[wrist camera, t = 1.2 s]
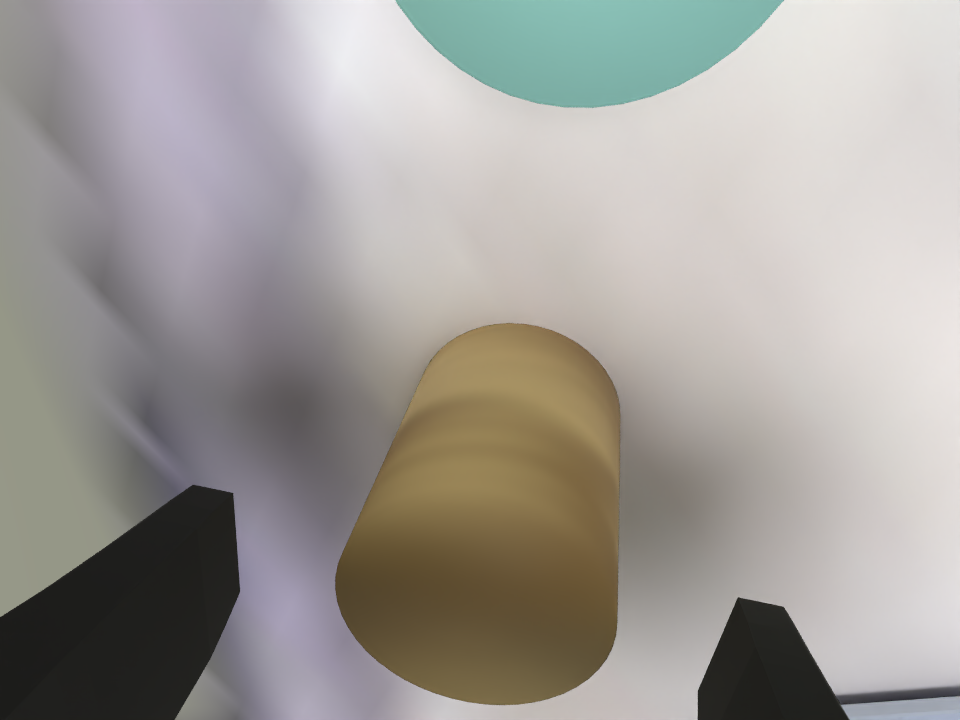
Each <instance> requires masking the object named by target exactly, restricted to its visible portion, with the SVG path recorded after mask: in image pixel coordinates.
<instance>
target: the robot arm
mask: <svg viewBox="0 0 960 720" xmlns="http://www.w3.org/2000/svg"><path fill="white" fill-rule="evenodd" d="M239 593H240V584H239V570H238V555H237V541H236V527H235V513H234V499H233V493H230V492H225V491H221V490H216V489H211V488H206V487H201V486H196V485H192V486H191V487H189V488H188V489H186V490H185V491H183V492H182V493H180V494H179V495H177V496H176V497H175V498H173V499H172V500H170V501H169V502H168V503H166V504H165V505H163V506H162V507H161V508H159V509H158V510H156V511H155V512H154V513H152V514H151V515H149V516H148V517H147V518H145V519H144V520H143V521H141V522H140V523H138V524H137V525H136V526H134V527H133V528H131V529H130V530H129V531H127V532H126V533H125V534H123V535H122V536H120V537H119V538H118V539H116V540H115V541H113V542H112V543H111V544H109V545H108V546H106V547H105V548H104V549H102V550H101V551H99V552H98V553H96V554H95V555H93V556H92V557H90V558H89V559H88V560H86V561H85V562H83V563H82V564H80V565H79V566H77V567H76V568H75V569H73V570H72V571H70V572H69V573H67V574H66V575H64V576H63V577H61V578H60V579H59V580H57V581H56V582H54V583H53V584H51V585H50V586H49V587H47V588H45V589H44V590H42V591H41V592H39V593H38V594H36V595H35V596H33V597H31V598H30V599H28V600H27V601H25V602H24V603H22V604H20V605H19V606H17V607H16V608H14V609H12V610H11V611H9V612H8V613H6V614H5V615H3V616H2V617H0V720H175V718H176V716H177V715H178V713H179V711H180V710H181V708H182V706H183V705H184V703H185V701H186V699H187V698H188V696H189V694H190V693H191V691H192V689H193V688H194V686H195V684H196V682H197V681H198V679H199V677H200V676H201V674H202V672H203V670H204V669H205V667H206V665H207V663H208V662H209V660H210V658H211V656H212V654H213V652H214V650H215V647H216V645H217V643H218V641H219V639H220V637H221V634H222V632H223V630H224V628H225V626H226V623H227V621H228V619H229V616H230V614H231V612H232V609H233V607H234V605H235V602H236V600H237V598H238V595H239ZM698 720H960V696H954V697H940V698H927V699H913V700H900V701H886V702H873V703H859V704H846V705H840V703H839V701H838V699H837V698H836V696H835V694H834V693H833V691H832V689H831V687H830V686H829V684H828V682H827V681H826V679H825V677H824V676H823V674H822V672H821V670H820V669H819V667H818V665H817V663H816V662H815V660H814V658H813V656H812V655H811V653H810V651H809V649H808V648H807V646H806V644H805V642H804V641H803V639H802V637H801V635H800V634H799V632H798V630H797V628H796V627H795V625H794V623H793V621H792V620H791V618H790V616H789V614H788V613H787V611H786V610H785V608H784V607H782V606H777V605H772V604H767V603H762V602H758V601H753V600H748V599H743V598H738V599H737V601H736V603H735V606H734V608H733V610H732V613H731V615H730V617H729V620H728V622H727V624H726V627H725V629H724V631H723V634H722V636H721V638H720V641H719V643H718V645H717V648H716V650H715V652H714V655H713V657H712V659H711V662H710V664H709V666H708V669H707V671H706V673H705V676H704V678H703V680H702V683H701V685H700V687H699V690H698Z"/></svg>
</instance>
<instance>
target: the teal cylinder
mask: <svg viewBox="0 0 960 720" xmlns="http://www.w3.org/2000/svg"><path fill="white" fill-rule="evenodd" d="M783 1H784V0H396V2H397V4H398V5H399V7H400V8H401V9H402V11H403V12H404V13H405V15H406V16H407V17H408V19H409V20H410V21H411V23H412V24H413V25H414V27H415V28H416V29H417V30H418V31H419V32H420V33H421V34H422V35H423V36H424V38H425V39H426V40H427V41H428V42H429V43H430V44H431V45H432V46H433V47H434V48H435V49H436V50H437V51H438V52H439V53H441V54H442V55H443V56H444V57H446V58H447V59H448V60H449V61H451V62H452V63H453V64H454V65H456V66H457V67H458V68H459V69H461V70H462V71H464V72H466V73H467V74H469V75H470V76H472V77H474V78H475V79H477V80H479V81H480V82H482V83H484V84H485V85H488V86H490V87H492V88H495V89H497V90H499V91H501V92H504V93H506V94H508V95H510V96H514V97H517V98H521V99H524V100H528V101H531V102H535V103H539V104H546V105H553V106H560V107H587V108H594V107H602V106H610V105H618V104H624V103H628V102H632V101H636V100H640V99H643V98H647V97H651V96H654V95H656V94H659V93H661V92H664V91H666V90H669V89H671V88H674V87H676V86H679V85H681V84H682V83H684V82H686V81H688V80H690V79H692V78H693V77H695V76H697V75H699V74H701V73H702V72H704V71H706V70H708V69H709V68H711V67H712V66H713V65H715V64H716V63H718V62H719V61H720V60H722V59H723V58H725V57H726V56H727V55H729V54H730V53H731V52H733V51H734V50H735V49H737V48H738V47H739V46H740V45H741V44H742V43H743V42H744V41H745V40H746V39H748V38H749V37H750V36H751V35H752V34H753V33H754V32H755V31H756V30H757V29H759V28H760V27H761V26H762V24H763V23H764V22H765V21H766V20H767V19H768V18H769V17H770V15H771V14H772V13H773V12H774V11H775V10H776V9H777V7H778V6H779V5H780V4H781V3H782V2H783Z"/></svg>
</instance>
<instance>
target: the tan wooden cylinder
mask: <svg viewBox="0 0 960 720" xmlns="http://www.w3.org/2000/svg"><path fill="white" fill-rule="evenodd" d="M619 475H620V405H619V400H618V396H617V392H616V390H615V388H614V385H613V383H612V381H611V379H610V377H609V376H608V374H607V372H606V371H605V369H604V368H603V367H602V365H601V364H600V363H599V362H598V360H596V359H595V358H594V357H593V356H592V355H591V354H590V353H589V352H588V351H587V350H586V349H584V348H583V347H582V346H580V345H579V344H578V343H576V342H574V341H573V340H571V339H569V338H567V337H566V336H563V335H561V334H559V333H556V332H554V331H552V330H548V329H545V328H542V327H538V326H532V325H527V324H514V323H506V324H494V325H489V326H483V327H480V328H477V329H474V330H471V331H468V332H466V333H464V334H462V335H460V336H458V337H456V338H455V339H453V340H452V341H450V342H449V343H447V344H446V345H445V346H444V347H443V348H442V349H440V350H439V351H438V352H437V354H436V355H435V356H434V357H433V358H432V360H431V361H430V363H429V364H428V366H427V368H426V369H425V372H424V374H423V376H422V378H421V380H420V383H419V385H418V387H417V389H416V391H415V394H414V396H413V398H412V400H411V402H410V405H409V407H408V409H407V411H406V414H405V416H404V418H403V420H402V422H401V425H400V427H399V429H398V431H397V433H396V436H395V438H394V440H393V442H392V444H391V447H390V449H389V451H388V453H387V456H386V458H385V460H384V462H383V464H382V467H381V469H380V471H379V473H378V475H377V478H376V480H375V482H374V484H373V487H372V489H371V491H370V493H369V495H368V498H367V500H366V502H365V504H364V506H363V509H362V511H361V513H360V515H359V517H358V520H357V522H356V524H355V526H354V529H353V531H352V533H351V535H350V537H349V540H348V542H347V544H346V546H345V548H344V551H343V553H342V555H341V558H340V560H339V563H338V567H337V572H336V577H335V590H336V596H337V602H338V605H339V608H340V611H341V614H342V617H343V618H344V620H345V622H346V624H347V626H348V628H349V630H350V631H351V633H352V634H353V635H354V637H355V638H356V640H357V641H358V642H359V643H360V644H361V645H362V647H363V648H364V649H365V650H366V651H367V652H368V653H369V654H370V655H371V656H372V657H373V658H375V659H376V660H377V661H378V662H379V663H381V664H382V665H383V666H385V667H386V668H387V669H389V670H390V671H391V672H393V673H395V674H396V675H398V676H399V677H401V678H403V679H404V680H406V681H408V682H410V683H412V684H414V685H416V686H418V687H421V688H423V689H426V690H428V691H431V692H433V693H436V694H439V695H442V696H445V697H449V698H452V699H457V700H461V701H466V702H472V703H479V704H490V705H516V704H525V703H532V702H537V701H542V700H546V699H550V698H553V697H555V696H558V695H561V694H564V693H566V692H568V691H570V690H572V689H574V688H576V687H577V686H579V685H580V684H582V683H583V682H585V681H586V680H588V679H589V678H590V677H591V676H592V675H593V674H594V673H595V672H596V671H597V670H598V669H599V668H600V667H601V666H602V664H603V663H604V662H605V660H606V659H607V657H608V655H609V653H610V651H611V649H612V647H613V644H614V640H615V637H616V631H617V609H618V542H619Z"/></svg>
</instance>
